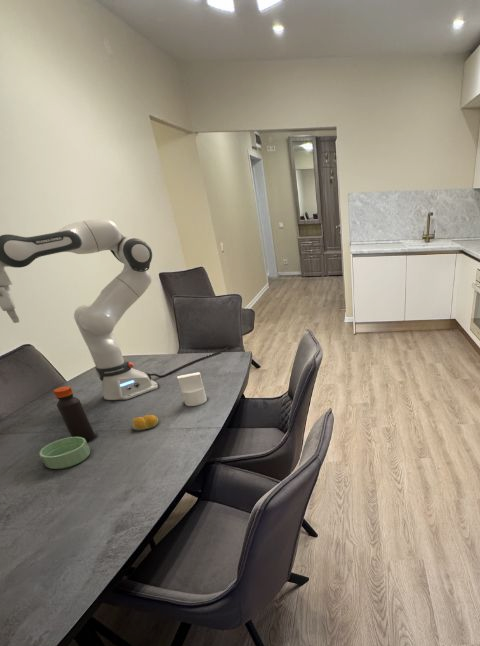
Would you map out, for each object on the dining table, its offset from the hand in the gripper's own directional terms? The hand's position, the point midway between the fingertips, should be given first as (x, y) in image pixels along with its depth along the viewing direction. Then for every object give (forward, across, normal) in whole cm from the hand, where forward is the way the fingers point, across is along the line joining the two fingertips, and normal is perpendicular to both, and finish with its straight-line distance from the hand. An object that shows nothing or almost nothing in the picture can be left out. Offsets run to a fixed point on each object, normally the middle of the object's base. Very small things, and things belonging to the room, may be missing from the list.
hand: (16, 321), depth 143 cm
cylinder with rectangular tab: (+44, -26, -44) cm, 67 cm away
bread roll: (+43, -34, -21) cm, 59 cm away
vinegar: (+41, -29, -1) cm, 51 cm away
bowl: (+42, -41, +5) cm, 59 cm away
